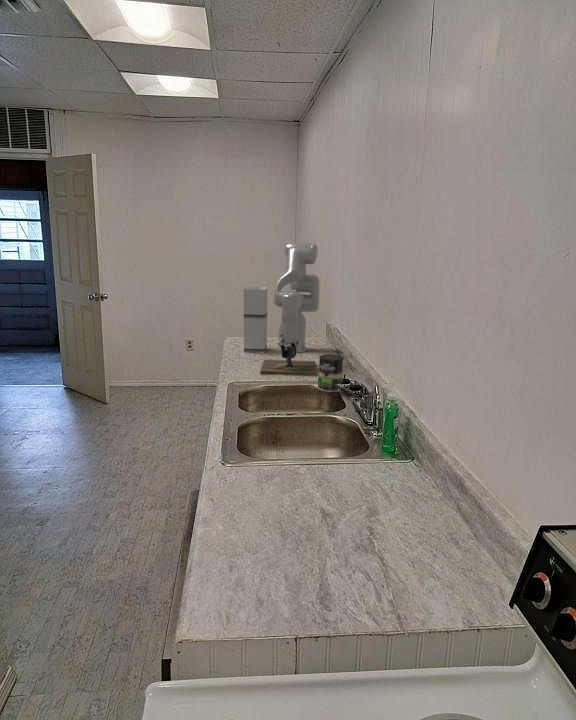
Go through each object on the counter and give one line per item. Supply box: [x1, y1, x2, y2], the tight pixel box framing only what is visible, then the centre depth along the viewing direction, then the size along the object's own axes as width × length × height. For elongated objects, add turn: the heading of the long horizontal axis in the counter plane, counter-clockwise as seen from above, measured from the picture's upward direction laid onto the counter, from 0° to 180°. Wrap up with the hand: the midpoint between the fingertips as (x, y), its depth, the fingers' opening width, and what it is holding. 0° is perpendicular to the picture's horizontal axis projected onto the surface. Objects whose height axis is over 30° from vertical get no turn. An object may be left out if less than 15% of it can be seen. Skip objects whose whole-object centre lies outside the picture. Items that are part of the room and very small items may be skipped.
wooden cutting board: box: [260, 359, 317, 377], centre depth 251 cm, size 22×26×3 cm
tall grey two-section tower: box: [243, 286, 268, 353], centre depth 285 cm, size 11×11×35 cm
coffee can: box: [317, 353, 345, 393], centre depth 219 cm, size 10×10×14 cm
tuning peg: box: [276, 345, 296, 368], centre depth 247 cm, size 11×6×9 cm, turn 138°
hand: (289, 356), depth 250 cm, fingers open, 5 cm apart
